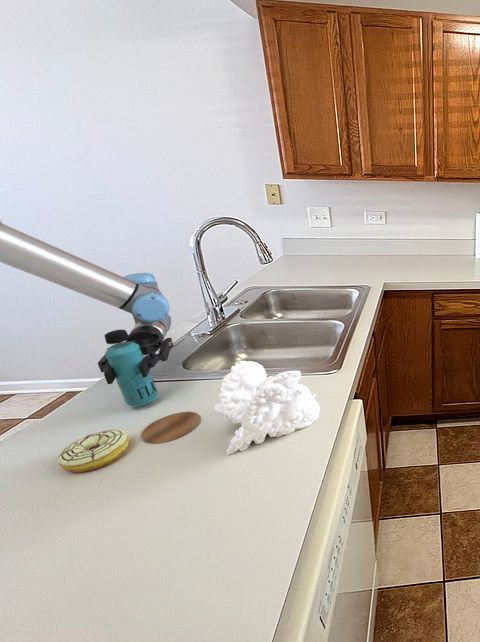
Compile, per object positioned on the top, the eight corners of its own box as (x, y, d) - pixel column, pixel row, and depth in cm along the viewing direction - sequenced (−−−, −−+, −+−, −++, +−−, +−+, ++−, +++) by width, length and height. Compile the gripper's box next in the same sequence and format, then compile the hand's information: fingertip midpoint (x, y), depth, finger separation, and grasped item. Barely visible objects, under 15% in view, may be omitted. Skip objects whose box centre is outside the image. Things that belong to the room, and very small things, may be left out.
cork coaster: (128, 442, 86) (127, 440, 86) (168, 412, 96) (168, 410, 96) (175, 445, 85) (175, 443, 85) (211, 414, 95) (211, 412, 95)
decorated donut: (97, 439, 87) (91, 425, 85) (144, 441, 86) (139, 426, 85) (46, 474, 77) (39, 459, 76) (99, 476, 76) (92, 461, 75)
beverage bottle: (144, 413, 95) (112, 339, 88) (120, 411, 96) (88, 337, 89) (167, 397, 101) (140, 326, 94) (145, 395, 102) (116, 325, 95)
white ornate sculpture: (345, 376, 94) (269, 367, 77) (321, 462, 91) (237, 472, 74) (294, 361, 103) (216, 350, 86) (271, 439, 100) (186, 443, 83)
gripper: (190, 342, 115) (179, 379, 96) (107, 357, 107) (77, 400, 88) (183, 319, 112) (170, 351, 93) (98, 332, 104) (64, 371, 85)
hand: (125, 375), depth 91 cm, fingers closed on beverage bottle, 6 cm apart
